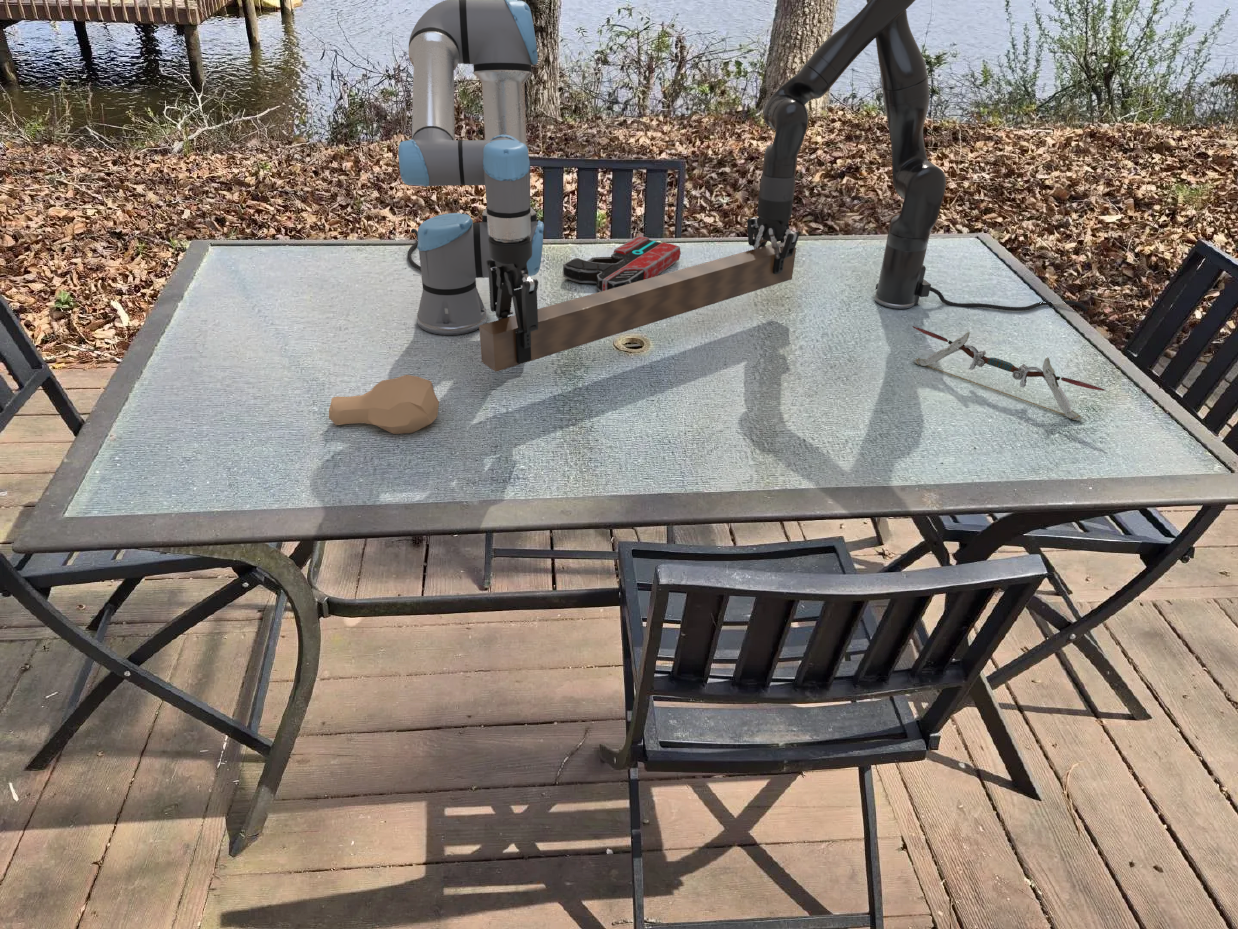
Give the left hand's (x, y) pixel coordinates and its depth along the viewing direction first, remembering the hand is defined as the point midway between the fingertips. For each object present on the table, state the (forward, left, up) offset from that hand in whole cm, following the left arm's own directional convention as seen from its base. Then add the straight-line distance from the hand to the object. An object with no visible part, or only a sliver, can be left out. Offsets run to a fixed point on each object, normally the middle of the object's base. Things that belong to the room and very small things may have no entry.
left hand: (515, 355), depth 165 cm
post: (+4, +34, -1) cm, 34 cm away
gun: (-32, +60, -9) cm, 69 cm away
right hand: (+7, +67, +2) cm, 68 cm away
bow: (+62, +72, -9) cm, 96 cm away
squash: (-7, -25, -9) cm, 27 cm away
